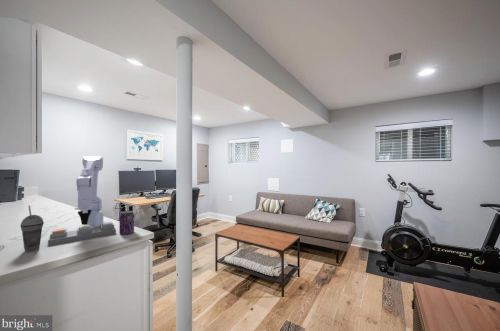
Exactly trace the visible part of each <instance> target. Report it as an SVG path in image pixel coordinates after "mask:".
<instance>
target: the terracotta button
mask: <svg viewBox="0 0 500 331" xmlns="http://www.w3.org/2000/svg"><path fill="white" fill-rule="evenodd" d="M62 232H65V227H62V228H55V229H53V234H55V233H62Z"/></svg>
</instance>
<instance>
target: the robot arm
mask: <svg viewBox="0 0 500 331" xmlns="http://www.w3.org/2000/svg"><path fill="white" fill-rule="evenodd" d="M81 163H82V166H83V169H82V170H81V173H80V176H78V177H77V178H76V181H75V184H76V191H77V207H75V208H74V210H78V211H77V215H78V216H79V218H80V222H81V226H83V225H90V226H92V228H96V227H100V224H102V223H104V212H103V211H102V210H103V204H102V203H103V202H102V198H100V197H99V196H98V194H97V193H98V178H99V172H100V171H102V170H103V167H104V157H103V156H92V155H91V156H90V155H89V156H88V155H87V156H86V155H84V156H83V157H82V162H81Z"/></svg>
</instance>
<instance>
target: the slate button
mask: <svg viewBox="0 0 500 331" xmlns="http://www.w3.org/2000/svg"><path fill="white" fill-rule="evenodd" d="M112 223H113V222H112V221H103V223H102V226H108V225H112Z"/></svg>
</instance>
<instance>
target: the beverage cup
mask: <svg viewBox="0 0 500 331" xmlns="http://www.w3.org/2000/svg"><path fill="white" fill-rule="evenodd" d="M28 212H29V215H28V216H26V217H24V218H23V219H22V221H21V222H20V229H21V232H22V233H21V234H22V239H23V240H22V242H23V249H24V252H25V253H29V252H35V251H38V250H40V245H41V239H42V232H43V227H44V223H45V222H44V219H43V217H42V216H40V215H38V214H32V211H31V205H28Z"/></svg>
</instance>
